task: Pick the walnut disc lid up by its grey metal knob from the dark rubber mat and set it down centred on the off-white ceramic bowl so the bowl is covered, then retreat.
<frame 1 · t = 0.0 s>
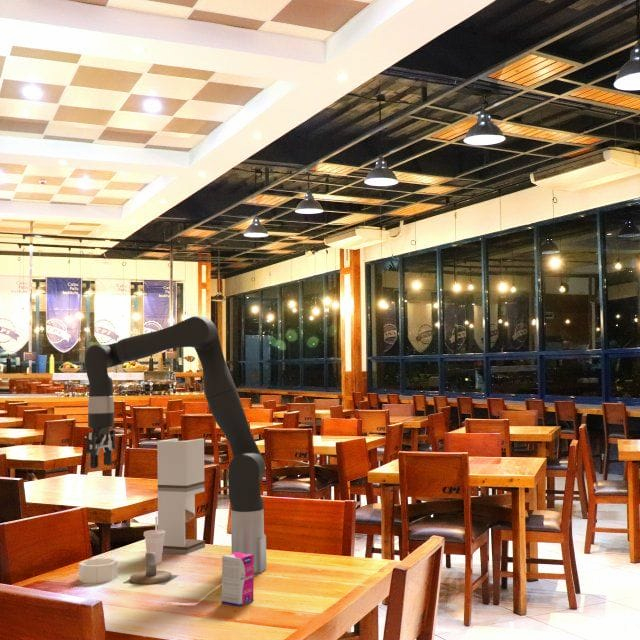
hand: (101, 466, 246), 29 cm above the table, fingers open, 8 cm apart
supplement box: (238, 603, 202), on the table
bowl: (98, 580, 227), on the table
white coffee maker: (181, 549, 267), on the table
smoothie: (154, 565, 245), on the table
mat: (151, 581, 225), on the table
lid: (151, 579, 225), point 1 cm above the table, touching mat
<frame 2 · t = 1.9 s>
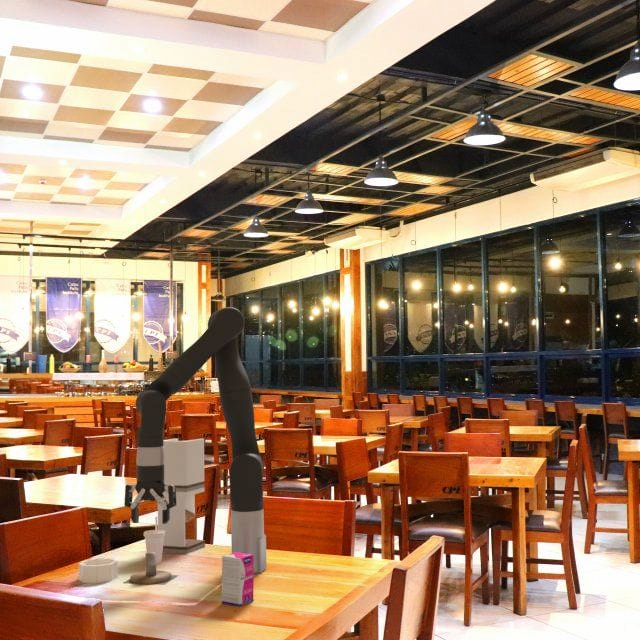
hand: (150, 523, 226), 16 cm above the table, fingers open, 8 cm apart
nothing on the table moved.
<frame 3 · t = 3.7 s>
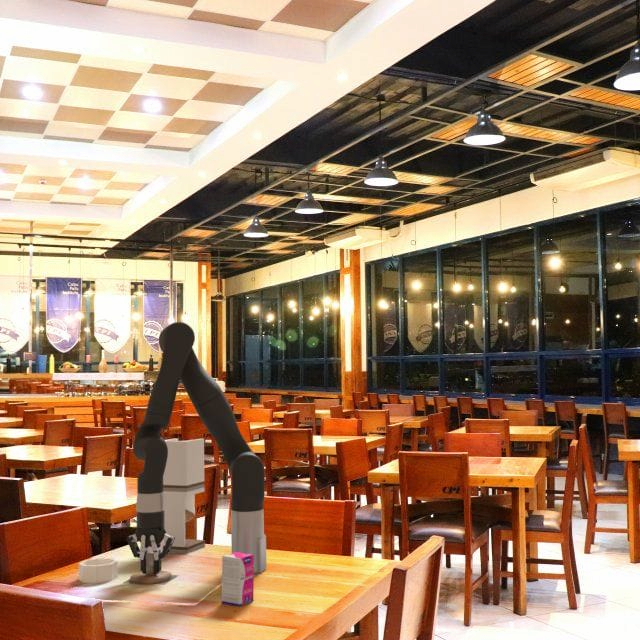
hand: (150, 573, 225), 2 cm above the table, fingers closed on lid, 2 cm apart
lid: (151, 579, 225), point 1 cm above the table, touching gripper, mat
everything else where it was.
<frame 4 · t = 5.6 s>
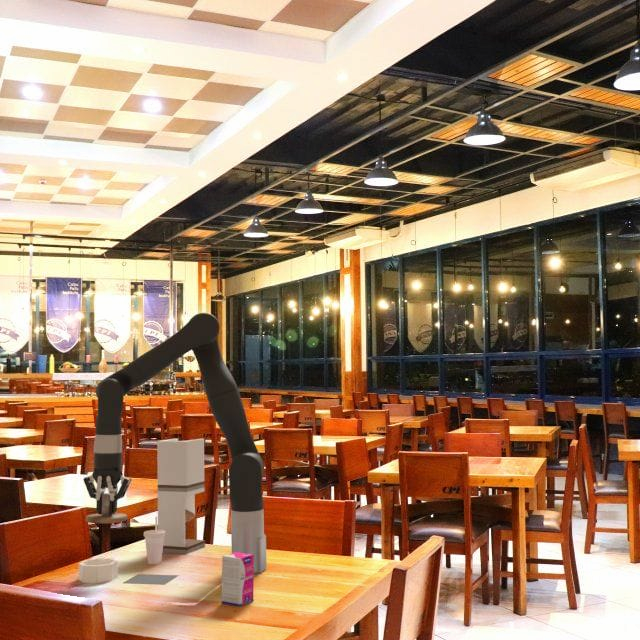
hand: (106, 513, 228), 18 cm above the table, fingers closed on lid, 2 cm apart
lid: (106, 519, 228), point 17 cm above the table, touching gripper
everything else where it was.
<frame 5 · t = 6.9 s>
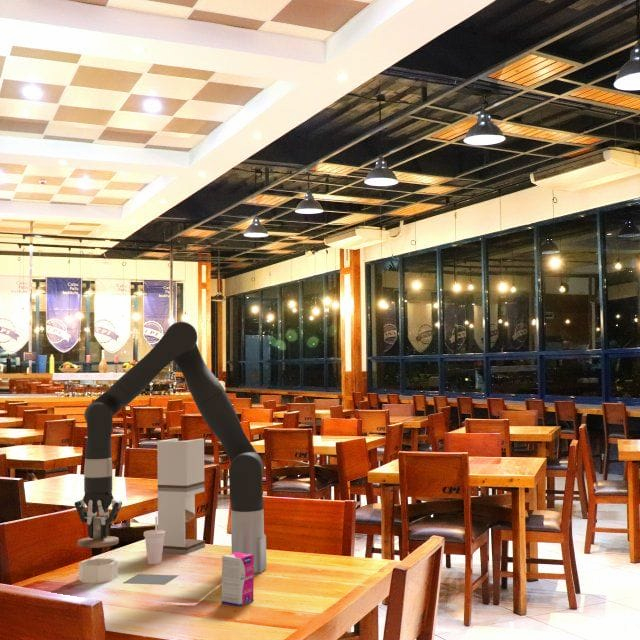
hand: (98, 537, 228), 12 cm above the table, fingers closed on lid, 2 cm apart
lid: (98, 543, 228), point 10 cm above the table, touching gripper
everything else where it was.
when the fingers open (8 cm above the table, at t = 7.8 s): lid drops 1 cm, resting on bowl.
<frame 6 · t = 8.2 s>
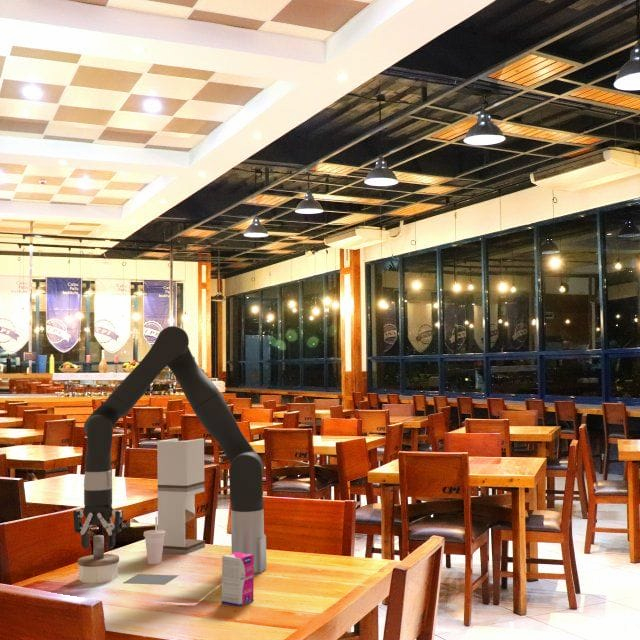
hand: (98, 548, 228), 9 cm above the table, fingers open, 6 cm apart
lid: (98, 562, 227), point 5 cm above the table, touching bowl
everything else where it was.
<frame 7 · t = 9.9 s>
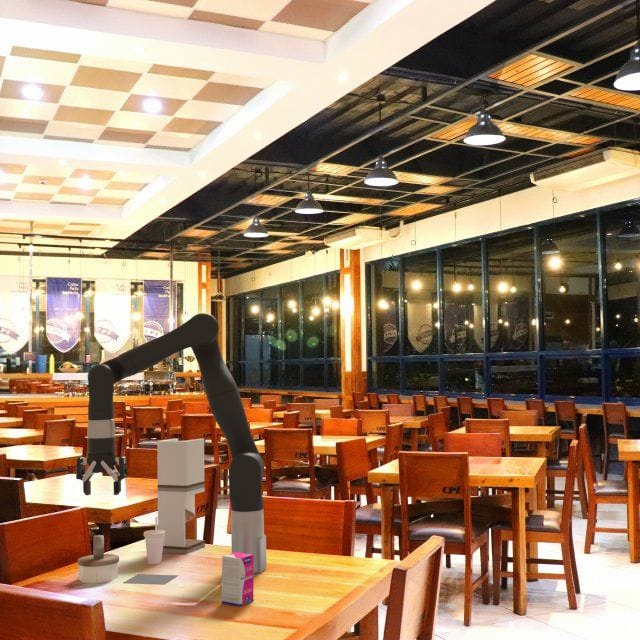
hand: (102, 494, 229), 23 cm above the table, fingers open, 8 cm apart
nothing on the table moved.
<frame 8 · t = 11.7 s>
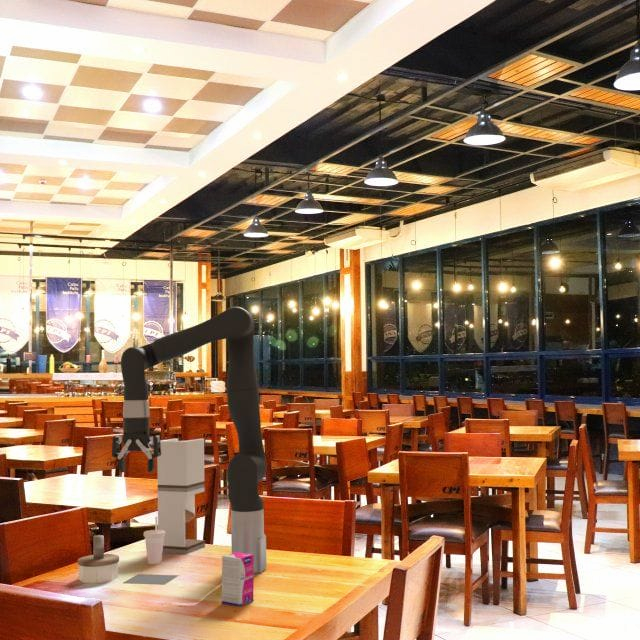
hand: (136, 472, 239), 28 cm above the table, fingers open, 8 cm apart
nothing on the table moved.
at the end: lid 0.1 cm off-centre on the bowl, point 5.0 cm above the bowl's base; lid tilted 0°; the gripper is holding nothing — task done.
